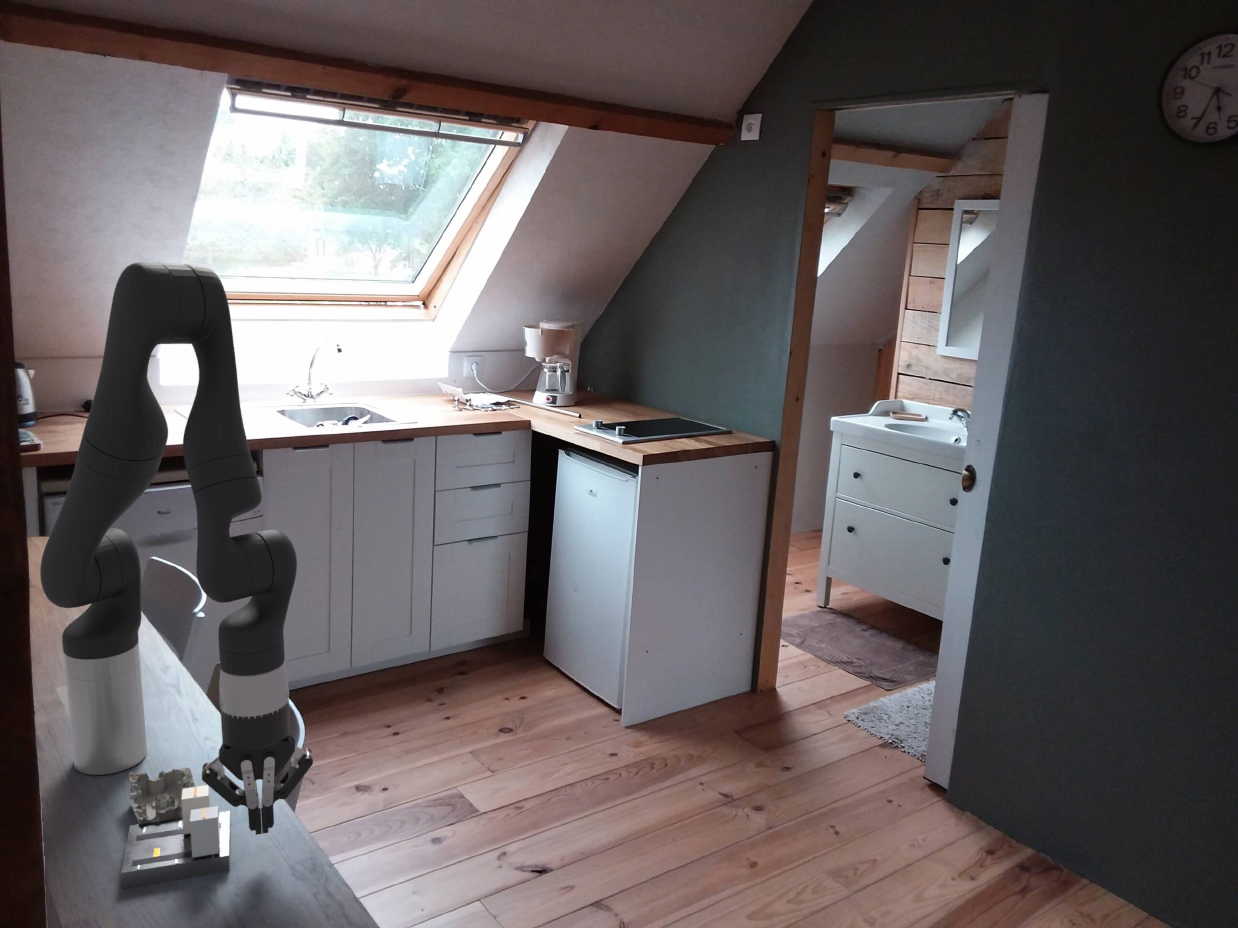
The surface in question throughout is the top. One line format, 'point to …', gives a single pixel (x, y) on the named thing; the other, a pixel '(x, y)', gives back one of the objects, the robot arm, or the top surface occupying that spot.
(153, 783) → the egg carton
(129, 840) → the fader console
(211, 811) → the slate fader cap
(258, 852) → the top surface
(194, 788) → the ivory cap
